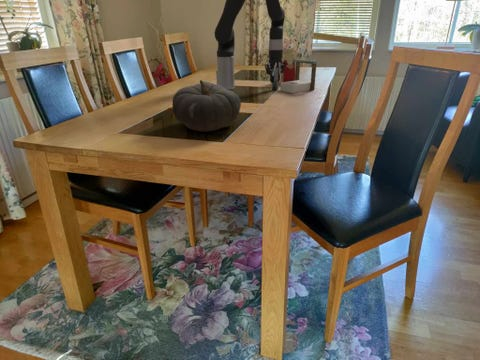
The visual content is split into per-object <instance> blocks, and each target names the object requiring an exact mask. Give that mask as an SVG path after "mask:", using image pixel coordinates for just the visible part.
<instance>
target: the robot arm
mask: <svg viewBox="0 0 480 360" xmlns="http://www.w3.org/2000/svg"><path fill="white" fill-rule="evenodd" d="M245 2H246V0H225V3H224V7H223V10H222V13H221V16H220V18H219V20H218V23H217V25H216V26H215V28H214V38H215V40H216V42H217V50H216V63H217V64H216V65H217V68H216V69H217V70H216V72H215V73H216V74H215V75H216V76H215V77H216V85H220V86H222V87H224V88H226V89H228V90H233V89H235V88H236V87H235V60H234V59H235V54H234V52H235V45H236V44H235V42H236V41H235V30H234V25H235V22H236V19H237V16H238V15H239V13H240V12H241V9H242V8H243V6H244V4H245ZM280 3H281V2H280V0H265V5H266V6H265V7H266V10H267V14H268V15H267V16H268V18H269V19H270V20H271V21H270V28H269V36H268V57H267V58H268V59H269V60H268V62H267V63H264V69H265V72H266V75H268V76H269V82H270V83H271V84H272V83H274V72H275V70H276V67H278V83H280V82H281V75H282V73H283V72H284V68H285V65H286V62H283V58H284V54H283V50H284V24H285V15H286V14H285V9H284V7H282V6H281V4H280ZM272 69H273V70H272Z"/></svg>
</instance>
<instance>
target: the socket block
mask: <svg viewBox="0 0 480 360" xmlns="http://www.w3.org/2000/svg"><path fill="white" fill-rule="evenodd" d="M310 85H311V81H306V80H300V79H299V80H295V81H289V82H283V83H280V91H282V92H285V93H291V94H297V93H301V92H307V91H311V90H310Z"/></svg>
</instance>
